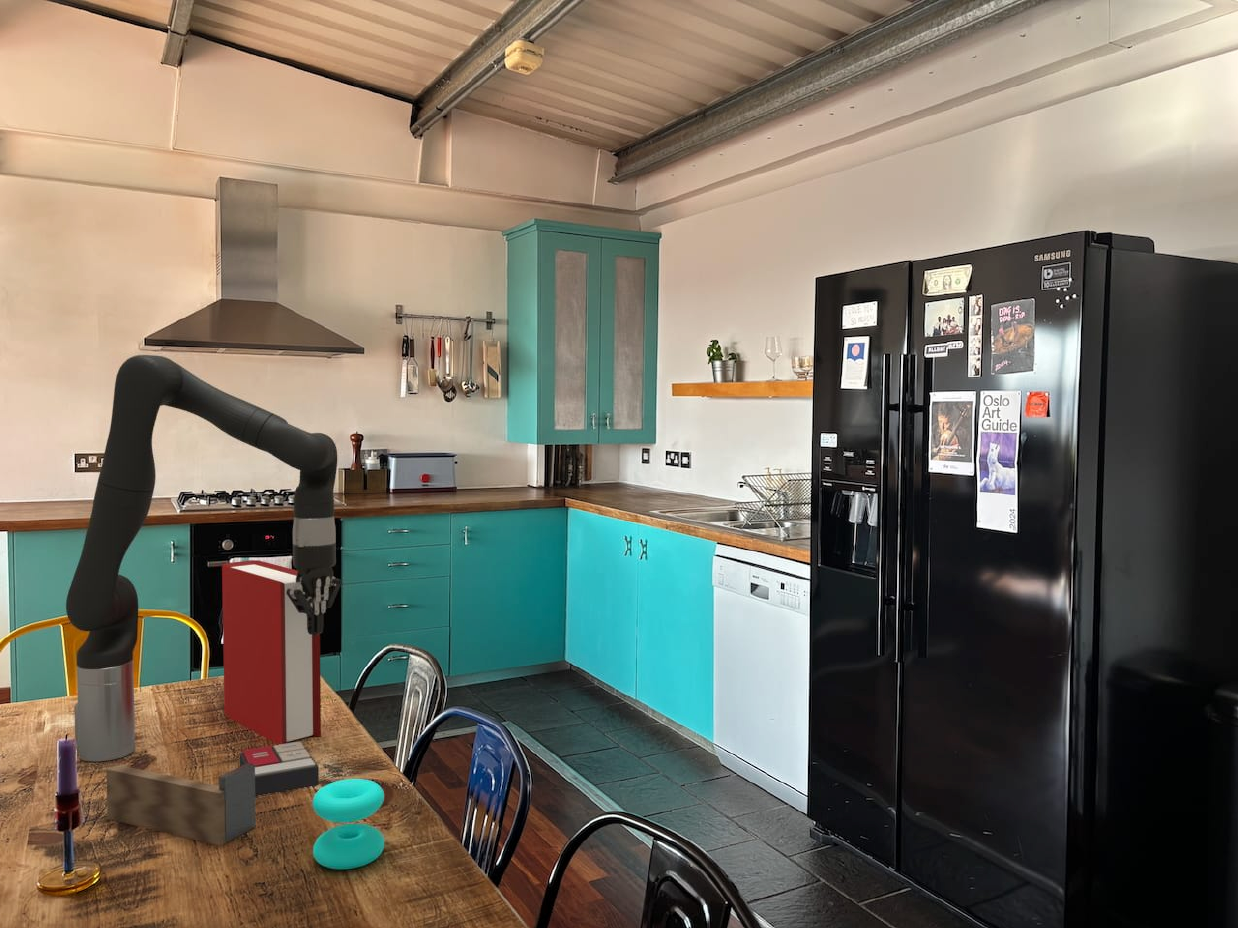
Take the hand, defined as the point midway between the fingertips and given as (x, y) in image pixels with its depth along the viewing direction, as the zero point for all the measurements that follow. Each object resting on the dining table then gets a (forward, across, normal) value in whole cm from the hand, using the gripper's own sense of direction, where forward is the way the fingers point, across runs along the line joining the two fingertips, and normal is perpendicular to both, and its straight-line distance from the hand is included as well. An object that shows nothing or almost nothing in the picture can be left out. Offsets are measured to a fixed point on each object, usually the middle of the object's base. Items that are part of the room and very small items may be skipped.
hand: (315, 633), depth 175 cm
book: (+23, -9, -20) cm, 32 cm away
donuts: (+23, +30, +31) cm, 49 cm away
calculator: (+24, +11, +1) cm, 26 cm away
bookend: (+23, +31, +11) cm, 40 cm away
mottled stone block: (+23, +32, 0) cm, 39 cm away
